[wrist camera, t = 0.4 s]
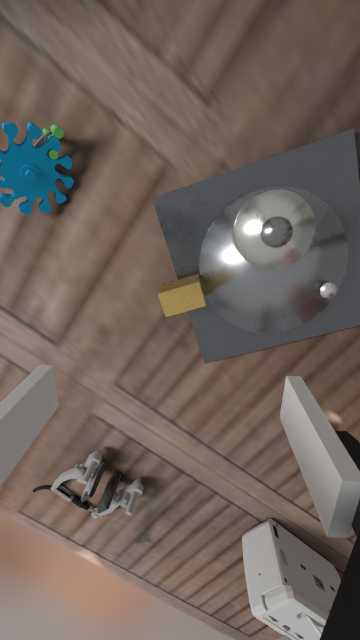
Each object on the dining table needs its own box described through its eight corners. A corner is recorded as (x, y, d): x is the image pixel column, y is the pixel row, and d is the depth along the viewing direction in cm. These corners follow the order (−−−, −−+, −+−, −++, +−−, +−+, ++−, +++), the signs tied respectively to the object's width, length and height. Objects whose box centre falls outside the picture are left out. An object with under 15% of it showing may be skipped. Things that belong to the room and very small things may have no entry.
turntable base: (153, 198, 37) (152, 198, 36) (348, 130, 33) (354, 127, 32) (204, 359, 45) (204, 364, 43) (369, 319, 41) (374, 322, 40)
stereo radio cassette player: (238, 530, 57) (256, 685, 38) (269, 510, 55) (306, 664, 36) (308, 581, 61) (357, 744, 42) (340, 564, 59) (407, 728, 40)
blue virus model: (40, 231, 38) (-44, 176, 30) (29, 210, 41) (-49, 154, 33) (98, 169, 36) (27, 91, 28) (82, 152, 40) (14, 78, 31)
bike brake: (95, 437, 50) (40, 478, 59) (77, 473, 44) (18, 513, 53) (152, 481, 53) (92, 514, 62) (142, 520, 47) (76, 551, 56)
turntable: (145, 227, 37) (135, 229, 32) (331, 165, 33) (356, 156, 28) (186, 350, 43) (184, 370, 37) (349, 308, 39) (373, 323, 34)
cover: (223, 206, 34) (228, 204, 28) (292, 183, 33) (311, 176, 27) (239, 271, 36) (246, 281, 31) (304, 252, 35) (324, 259, 30)
